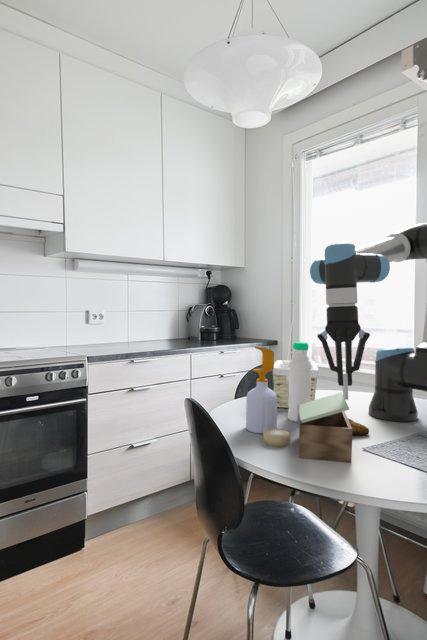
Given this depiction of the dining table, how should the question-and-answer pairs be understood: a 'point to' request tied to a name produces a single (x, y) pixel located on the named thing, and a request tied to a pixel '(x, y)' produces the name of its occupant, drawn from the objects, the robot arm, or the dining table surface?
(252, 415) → the soap bottle
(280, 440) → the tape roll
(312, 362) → the storage basket
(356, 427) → the croissant
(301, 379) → the water bottle
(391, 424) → the dining table surface
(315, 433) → the box
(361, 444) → the dining table surface
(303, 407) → the lid
